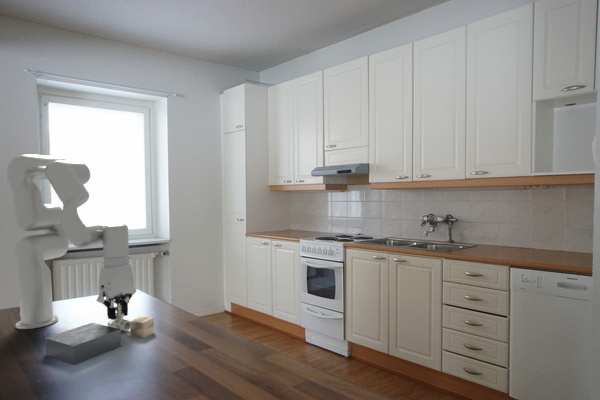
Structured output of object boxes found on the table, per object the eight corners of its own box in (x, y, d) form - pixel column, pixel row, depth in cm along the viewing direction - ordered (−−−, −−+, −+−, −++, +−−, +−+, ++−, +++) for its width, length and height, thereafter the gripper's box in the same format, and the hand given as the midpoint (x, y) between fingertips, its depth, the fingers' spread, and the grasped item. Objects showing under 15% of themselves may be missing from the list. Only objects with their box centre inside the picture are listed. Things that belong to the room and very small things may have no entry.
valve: (119, 335, 125) (118, 298, 124) (103, 333, 127) (102, 297, 127) (135, 328, 131) (133, 293, 131) (119, 327, 133) (117, 292, 133)
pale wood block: (130, 337, 123) (129, 321, 123) (141, 331, 128) (140, 316, 128) (144, 338, 122) (143, 322, 122) (154, 332, 126) (153, 317, 126)
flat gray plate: (45, 355, 111) (44, 337, 111) (93, 338, 123) (92, 322, 123) (74, 364, 104) (73, 346, 104) (121, 346, 116) (120, 329, 116)
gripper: (131, 256, 137) (132, 308, 138) (85, 265, 123) (86, 322, 124) (145, 258, 134) (146, 311, 134) (99, 267, 119) (101, 326, 120)
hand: (117, 316), depth 129 cm, fingers open, 3 cm apart
